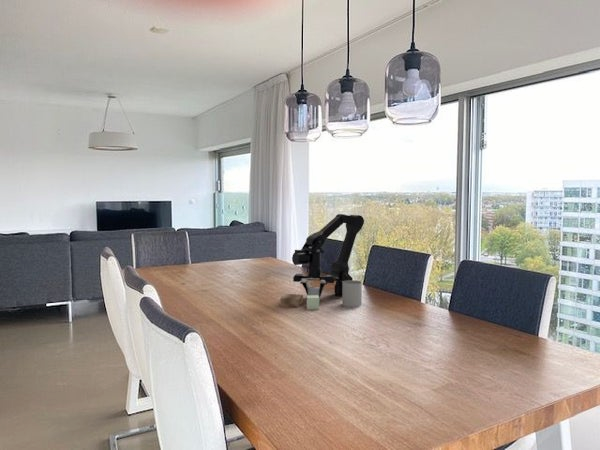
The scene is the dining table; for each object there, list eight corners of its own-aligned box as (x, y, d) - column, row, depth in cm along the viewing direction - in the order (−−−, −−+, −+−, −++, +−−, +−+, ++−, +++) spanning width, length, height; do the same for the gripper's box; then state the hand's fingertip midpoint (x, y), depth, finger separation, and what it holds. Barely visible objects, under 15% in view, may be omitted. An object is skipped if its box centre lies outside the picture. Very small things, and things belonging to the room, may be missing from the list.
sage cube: (317, 306, 203) (318, 295, 203) (319, 309, 198) (319, 297, 198) (306, 306, 203) (306, 295, 203) (307, 309, 198) (307, 298, 198)
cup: (339, 305, 205) (339, 282, 204) (346, 301, 212) (346, 279, 211) (357, 307, 201) (357, 284, 200) (364, 303, 208) (364, 281, 207)
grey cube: (320, 297, 219) (320, 287, 218) (318, 300, 214) (318, 289, 213) (309, 297, 220) (309, 286, 219) (307, 299, 215) (307, 289, 214)
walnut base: (302, 303, 209) (302, 294, 209) (298, 307, 202) (298, 298, 201) (285, 302, 211) (285, 293, 211) (280, 306, 204) (280, 297, 203)
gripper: (336, 261, 222) (336, 293, 223) (297, 260, 225) (297, 292, 226) (333, 264, 211) (333, 299, 212) (293, 263, 214) (293, 297, 215)
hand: (314, 296), depth 217 cm, fingers closed on grey cube, 5 cm apart
